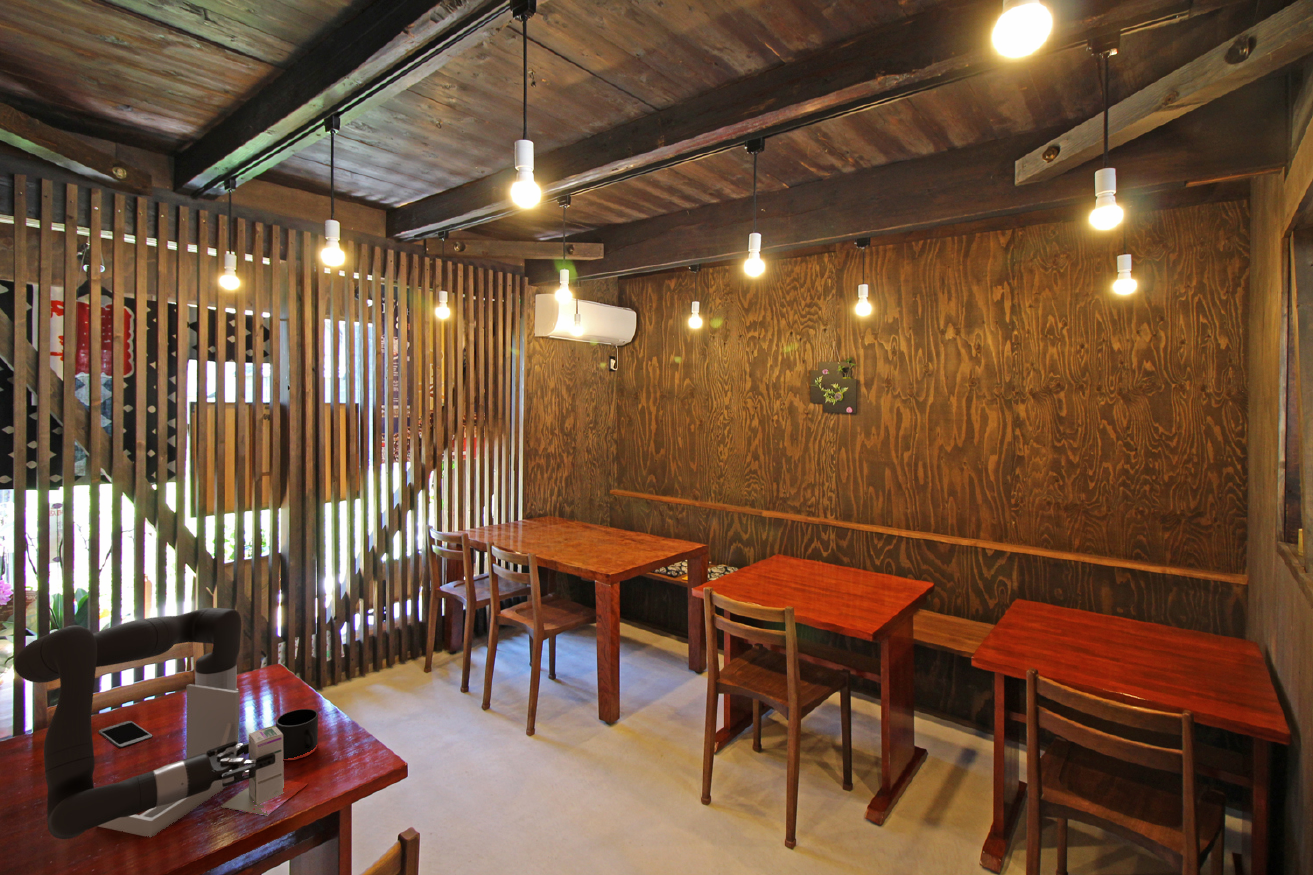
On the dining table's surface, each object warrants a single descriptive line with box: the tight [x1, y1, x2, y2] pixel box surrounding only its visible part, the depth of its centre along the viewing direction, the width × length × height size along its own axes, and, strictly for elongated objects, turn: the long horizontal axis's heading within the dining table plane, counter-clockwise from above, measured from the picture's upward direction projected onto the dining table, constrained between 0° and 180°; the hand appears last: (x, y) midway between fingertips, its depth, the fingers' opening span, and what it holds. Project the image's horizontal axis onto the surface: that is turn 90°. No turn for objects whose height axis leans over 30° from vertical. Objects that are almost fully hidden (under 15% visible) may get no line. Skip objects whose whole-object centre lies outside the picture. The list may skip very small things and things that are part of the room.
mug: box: [275, 708, 319, 759], centre depth 161 cm, size 9×12×9 cm
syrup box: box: [248, 725, 285, 805], centre depth 143 cm, size 6×6×14 cm
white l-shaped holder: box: [97, 683, 240, 838], centre depth 140 cm, size 21×14×22 cm
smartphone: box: [97, 720, 154, 749], centre depth 167 cm, size 7×15×1 cm, turn 59°
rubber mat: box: [220, 786, 268, 815], centre depth 144 cm, size 12×12×1 cm
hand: (268, 750), depth 143 cm, fingers open, 8 cm apart
